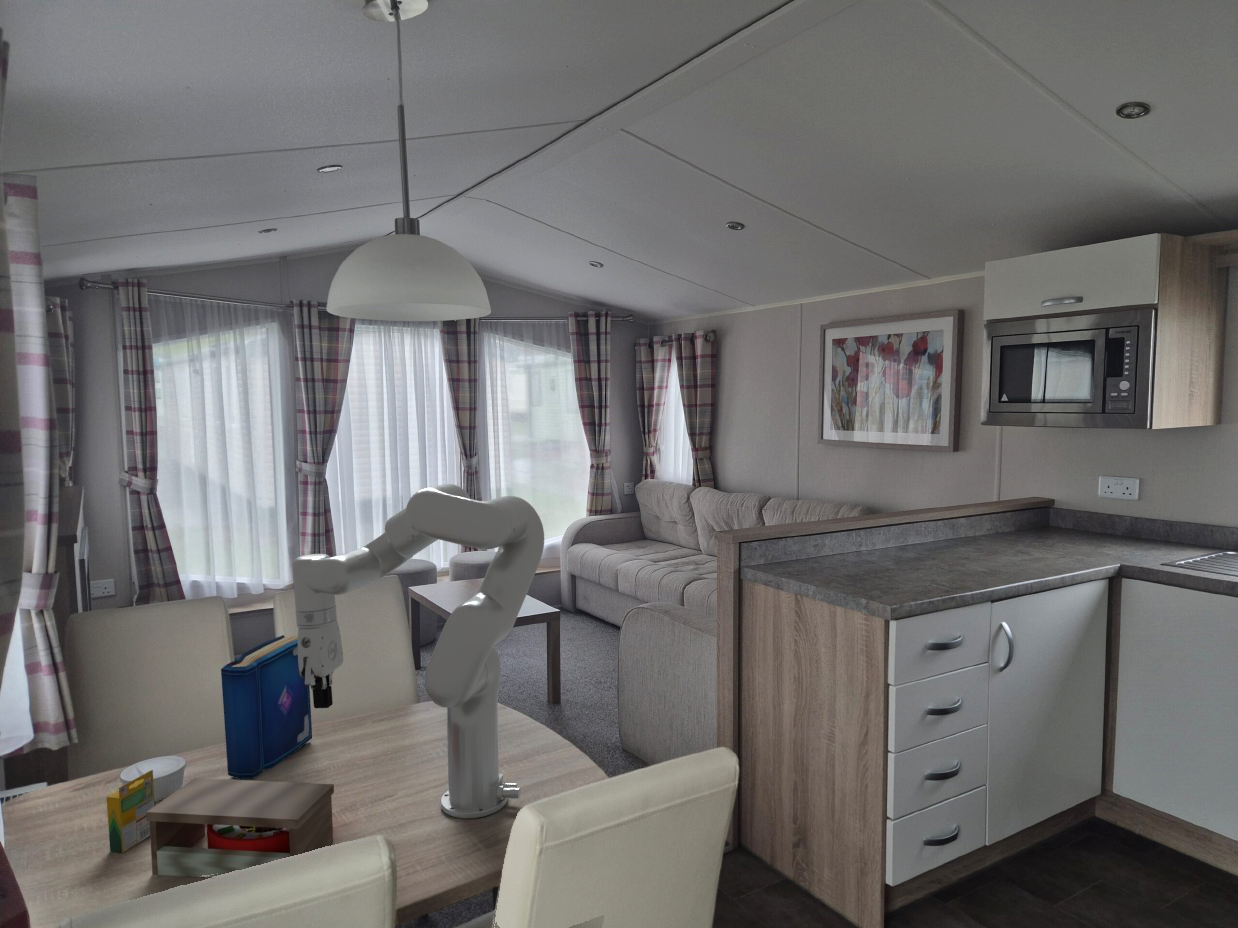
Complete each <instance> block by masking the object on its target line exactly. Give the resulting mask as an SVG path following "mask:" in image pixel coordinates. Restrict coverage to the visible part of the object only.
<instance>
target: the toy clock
mask: <svg viewBox="0 0 1238 928" xmlns="http://www.w3.org/2000/svg"><path fill="white" fill-rule="evenodd" d="M332 827H333V823H332ZM333 828H334V827H333ZM206 831H207V832H206V834H207V835H206V837H207V849H224V850H241V851H259V852H277V853H290V841H289V828H272V827H253V826H234V825H215V824H206Z"/></svg>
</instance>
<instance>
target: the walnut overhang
mask: <svg viewBox="0 0 1238 928" xmlns="http://www.w3.org/2000/svg"><path fill="white" fill-rule="evenodd" d="M333 794H335V784H334V783H316V782H315V783H314V782H313V783H312V782H293V781H291V782H290V781H271V780H252V779H225V778H223V779H222V778H206V777H205V778H203V777H202V778H201V777H194V778H192V779H191V780H190V781H188V782H187V783H186V784H184V785H182V787H181V788H180V789H178V790H177V791H176V792H174V793H173V794H171V795H170V796H168V797H167V798H166V799H163V800H160V801H159V802H158V803H157V804H155V806H154V807H153V808H151V809H150V810H149V811H147V812H146V813H147V821H150V836H149V837H150V852H151V853H150V855H151V873H152V876H153V875H154V876H155V875H156V876H170V877H172V876H173V877H186V876H187V878H189V877H188V876H191V877H190V878H193V877H192V876H202V875H210V876H209V877H213V876H217V875H221V874H225V873H229V872H232V871H235V870H242V869H246V868H249V867H252V866H256V865H261V864H264V863H268V862H271V861H274V860H278V859H282V858H286V857H290V856H294V855H298V854H302V853H305V852H309V851H312V850H315V849H318V848H322V847H325V846H329V845H330V846H332V845H333V843H334V835H333V834H334V830H333V828H334V827H332V824H333V804H332V803H333V800H332V796H333ZM207 824H215V825H234V826H253V827H272V828H289V841H290V853H277V852H259V851H241V850H224V849H208V848H205V847H204V848H203V847H202V848H201V847H194V845H196V844H197V843H198V842H200V841H201V840H202V839H203V838H204V837H205V836H206V826H205V825H207ZM332 842H333V843H332ZM217 873H218V874H217ZM211 874H214V875H211ZM205 879H209V878H208V876H207V877H205Z"/></svg>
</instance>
